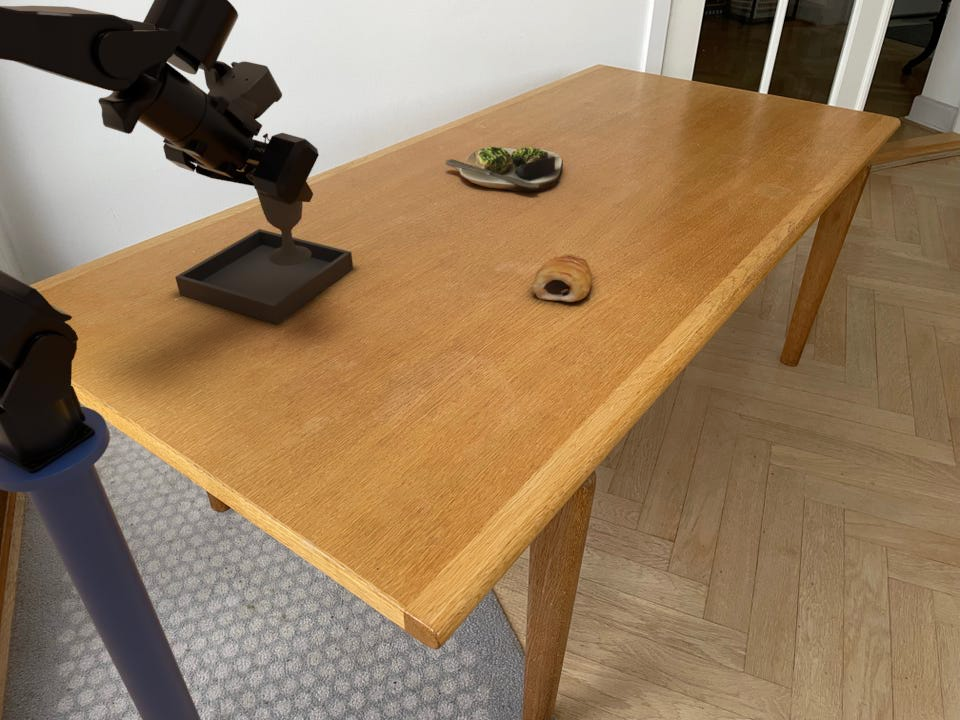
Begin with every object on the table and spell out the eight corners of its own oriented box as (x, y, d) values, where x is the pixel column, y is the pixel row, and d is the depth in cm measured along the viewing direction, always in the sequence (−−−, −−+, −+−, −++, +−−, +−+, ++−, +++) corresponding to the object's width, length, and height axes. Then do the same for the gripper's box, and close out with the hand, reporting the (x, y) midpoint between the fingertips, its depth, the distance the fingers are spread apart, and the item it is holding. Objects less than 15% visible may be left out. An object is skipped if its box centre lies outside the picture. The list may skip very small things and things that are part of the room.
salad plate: (433, 189, 116) (432, 161, 114) (459, 152, 131) (458, 126, 128) (552, 200, 113) (554, 171, 110) (566, 160, 127) (568, 134, 125)
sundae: (271, 274, 81) (248, 141, 72) (253, 251, 86) (230, 124, 77) (327, 261, 84) (311, 131, 75) (307, 239, 88) (290, 115, 80)
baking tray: (277, 324, 83) (273, 306, 82) (179, 294, 89) (174, 276, 87) (353, 268, 94) (351, 251, 93) (262, 245, 100) (259, 228, 99)
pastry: (548, 264, 95) (550, 238, 93) (599, 273, 94) (602, 246, 91) (529, 299, 88) (531, 271, 86) (583, 309, 86) (587, 281, 84)
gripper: (289, 52, 64) (382, 143, 77) (161, 27, 73) (265, 113, 86) (233, 164, 63) (337, 236, 77) (111, 125, 72) (224, 196, 86)
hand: (289, 191), depth 81 cm, fingers closed on sundae, 6 cm apart
